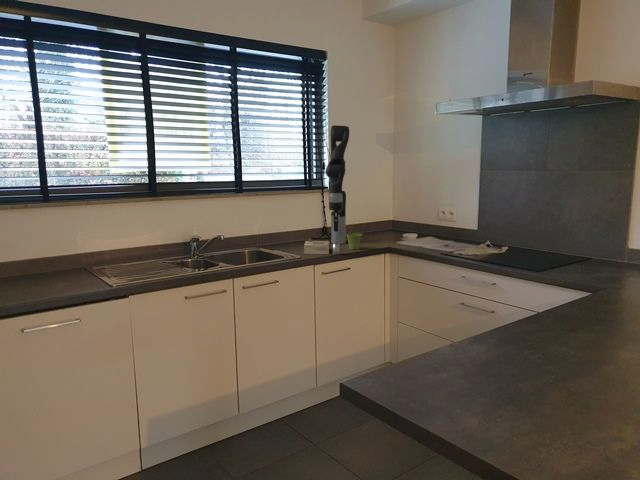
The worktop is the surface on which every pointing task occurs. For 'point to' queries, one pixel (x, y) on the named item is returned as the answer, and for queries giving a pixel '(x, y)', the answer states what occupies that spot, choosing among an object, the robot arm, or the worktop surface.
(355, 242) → the plant pot
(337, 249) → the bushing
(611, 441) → the worktop surface
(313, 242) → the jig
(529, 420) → the worktop surface
